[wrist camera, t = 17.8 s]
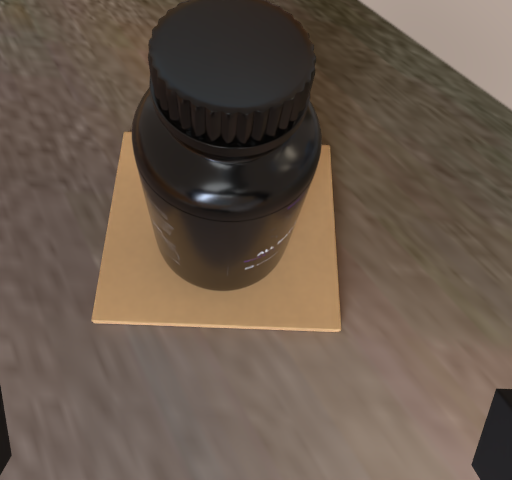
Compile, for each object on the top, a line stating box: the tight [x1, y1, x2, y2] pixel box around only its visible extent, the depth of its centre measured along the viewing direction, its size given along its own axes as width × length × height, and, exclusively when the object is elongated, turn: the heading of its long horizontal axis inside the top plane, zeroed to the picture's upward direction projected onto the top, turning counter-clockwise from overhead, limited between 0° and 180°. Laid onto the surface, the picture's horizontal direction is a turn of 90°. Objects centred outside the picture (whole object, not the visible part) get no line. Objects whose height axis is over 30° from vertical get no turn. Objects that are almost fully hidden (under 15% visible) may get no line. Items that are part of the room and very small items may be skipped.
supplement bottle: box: [132, 0, 322, 291], centre depth 18 cm, size 7×7×12 cm
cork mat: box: [92, 132, 341, 332], centre depth 24 cm, size 12×11×1 cm
